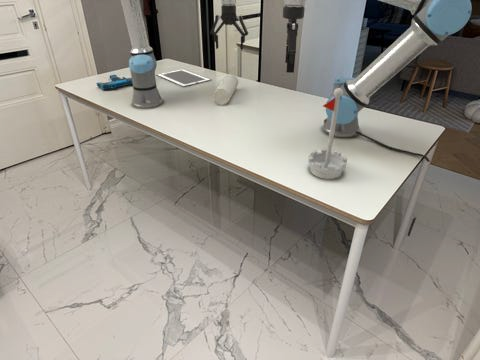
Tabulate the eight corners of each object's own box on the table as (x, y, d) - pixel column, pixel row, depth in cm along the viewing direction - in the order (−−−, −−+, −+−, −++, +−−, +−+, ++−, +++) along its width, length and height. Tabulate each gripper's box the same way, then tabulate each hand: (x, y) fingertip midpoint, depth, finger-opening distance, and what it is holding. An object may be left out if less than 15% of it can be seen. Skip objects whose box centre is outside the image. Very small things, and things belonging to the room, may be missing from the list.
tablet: (156, 75, 222) (156, 74, 221) (183, 69, 233) (183, 69, 233) (183, 86, 201) (183, 86, 201) (210, 80, 212) (210, 79, 212)
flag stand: (330, 158, 128) (344, 79, 112) (352, 176, 118) (370, 92, 102) (300, 165, 124) (309, 84, 108) (320, 183, 114) (333, 97, 98)
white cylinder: (229, 105, 176) (229, 89, 172) (213, 104, 177) (212, 88, 173) (238, 89, 198) (238, 74, 193) (224, 88, 199) (223, 73, 195)
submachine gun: (140, 68, 226) (159, 74, 209) (142, 73, 228) (160, 80, 211) (89, 77, 207) (104, 85, 190) (90, 84, 209) (106, 92, 192)
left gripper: (254, 4, 173) (253, 48, 184) (206, 3, 176) (208, 46, 188) (251, 6, 167) (251, 51, 178) (202, 5, 170) (205, 49, 182)
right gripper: (282, 1, 130) (279, 59, 141) (284, 10, 109) (280, 76, 120) (302, 2, 129) (297, 59, 141) (307, 10, 108) (301, 76, 120)
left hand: (229, 48), depth 183 cm, fingers open, 13 cm apart
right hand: (289, 67), depth 131 cm, fingers open, 13 cm apart
